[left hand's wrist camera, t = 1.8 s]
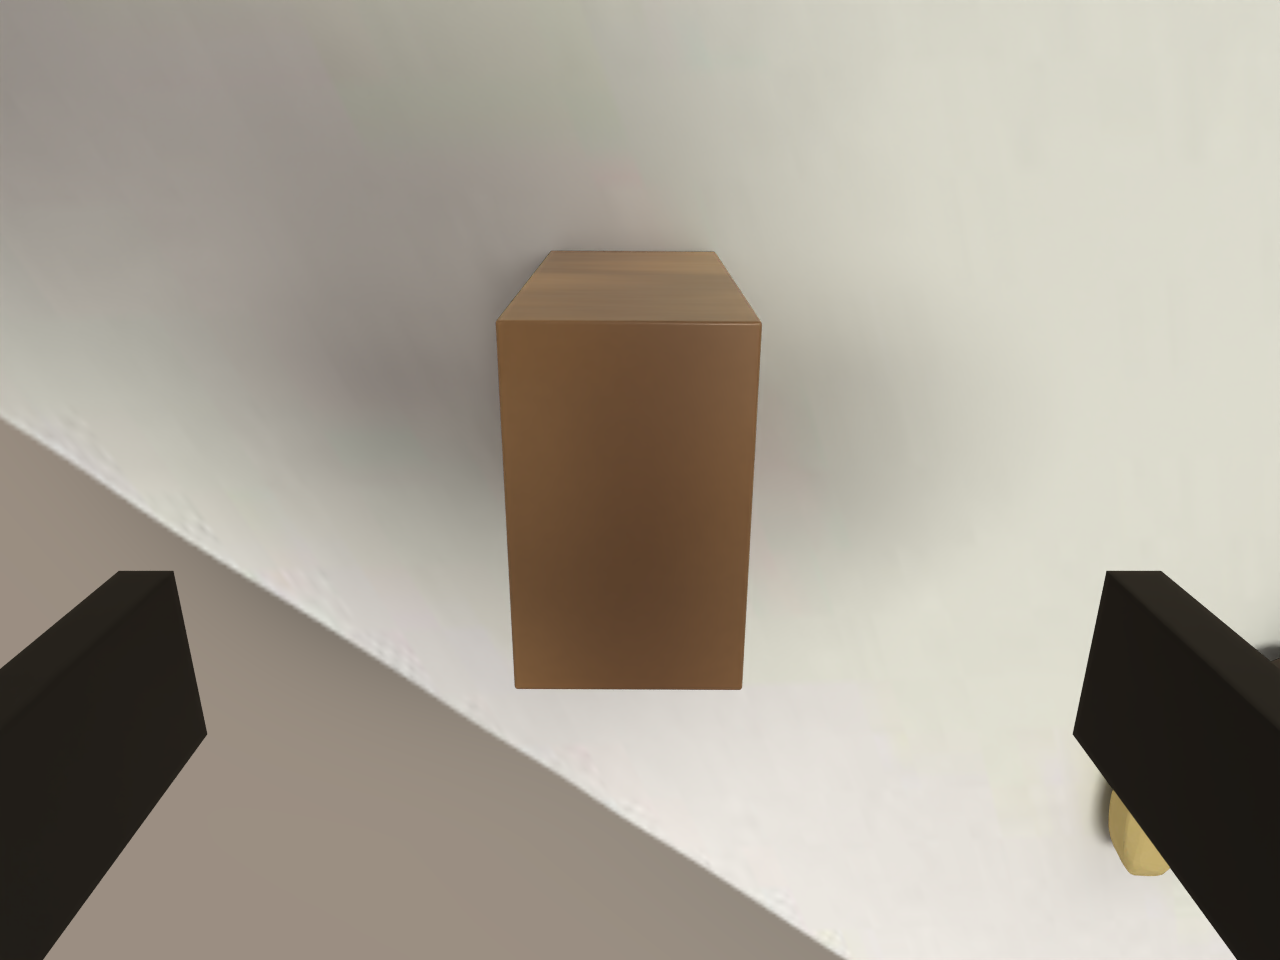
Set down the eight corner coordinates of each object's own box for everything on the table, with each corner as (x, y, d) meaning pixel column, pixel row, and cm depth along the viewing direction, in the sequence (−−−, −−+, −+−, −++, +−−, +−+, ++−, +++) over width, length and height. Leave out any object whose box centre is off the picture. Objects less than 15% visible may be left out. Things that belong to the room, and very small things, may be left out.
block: (558, 499, 29) (514, 689, 19) (550, 250, 26) (495, 320, 16) (706, 500, 29) (741, 690, 19) (715, 251, 26) (762, 321, 16)
